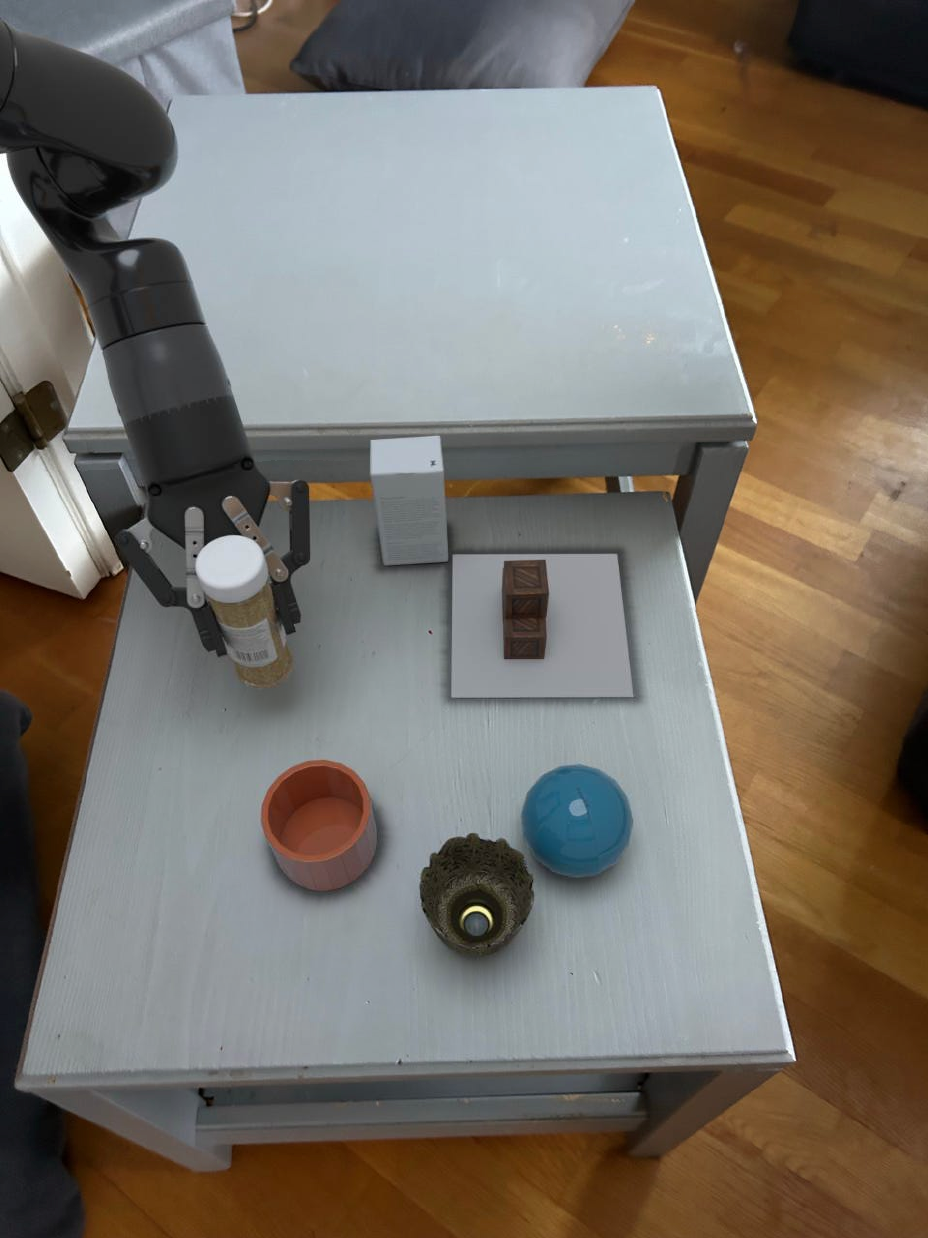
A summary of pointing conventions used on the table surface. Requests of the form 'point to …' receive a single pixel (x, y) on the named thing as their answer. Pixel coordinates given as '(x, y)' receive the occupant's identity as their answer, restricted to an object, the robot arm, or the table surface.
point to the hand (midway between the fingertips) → (256, 641)
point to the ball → (576, 821)
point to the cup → (476, 893)
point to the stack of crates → (538, 626)
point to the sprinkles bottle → (245, 609)
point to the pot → (320, 824)
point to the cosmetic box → (409, 499)
